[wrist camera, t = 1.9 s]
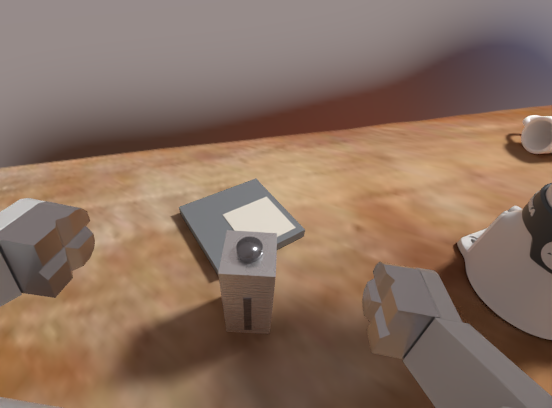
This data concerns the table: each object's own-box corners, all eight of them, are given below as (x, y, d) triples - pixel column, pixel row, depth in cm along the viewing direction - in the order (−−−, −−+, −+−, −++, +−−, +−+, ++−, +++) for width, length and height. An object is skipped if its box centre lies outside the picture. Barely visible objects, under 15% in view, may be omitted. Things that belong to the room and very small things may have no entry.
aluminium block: (271, 293, 38) (277, 227, 29) (269, 334, 34) (276, 272, 25) (232, 291, 38) (226, 223, 29) (226, 332, 34) (217, 269, 25)
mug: (577, 158, 66) (607, 126, 60) (540, 161, 64) (567, 128, 59) (535, 131, 74) (558, 101, 69) (501, 132, 73) (522, 101, 67)
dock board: (255, 185, 53) (255, 178, 52) (303, 236, 45) (305, 229, 44) (180, 213, 47) (178, 206, 46) (220, 279, 39) (219, 272, 38)
